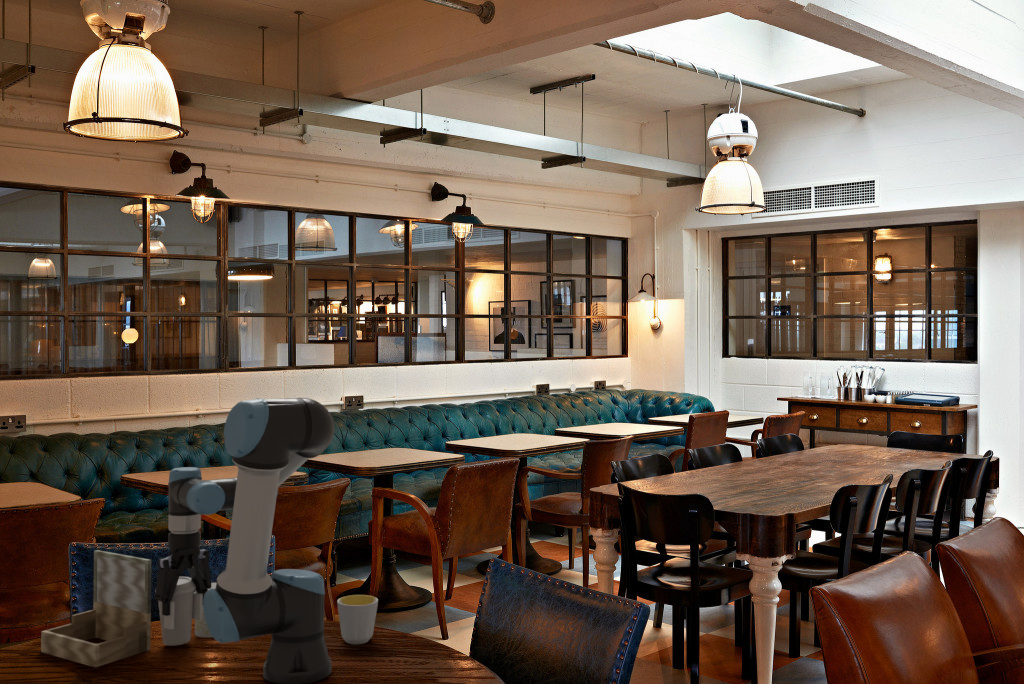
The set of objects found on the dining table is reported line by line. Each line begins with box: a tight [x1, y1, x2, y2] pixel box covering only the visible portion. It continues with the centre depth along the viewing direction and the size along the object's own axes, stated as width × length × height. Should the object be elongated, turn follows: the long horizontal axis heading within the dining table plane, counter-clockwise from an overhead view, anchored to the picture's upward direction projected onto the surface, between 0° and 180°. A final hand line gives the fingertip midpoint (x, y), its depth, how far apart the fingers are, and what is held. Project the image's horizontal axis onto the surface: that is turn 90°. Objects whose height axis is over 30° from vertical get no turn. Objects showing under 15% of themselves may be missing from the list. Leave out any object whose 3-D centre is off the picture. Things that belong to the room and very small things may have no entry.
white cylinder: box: [194, 582, 217, 638], centre depth 241 cm, size 8×8×12 cm
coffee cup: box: [154, 576, 196, 646], centre depth 230 cm, size 10×10×15 cm
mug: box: [336, 594, 379, 645], centre depth 237 cm, size 14×10×10 cm
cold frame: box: [40, 549, 152, 668], centre depth 227 cm, size 21×16×22 cm
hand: (183, 623), depth 228 cm, fingers closed on coffee cup, 8 cm apart
